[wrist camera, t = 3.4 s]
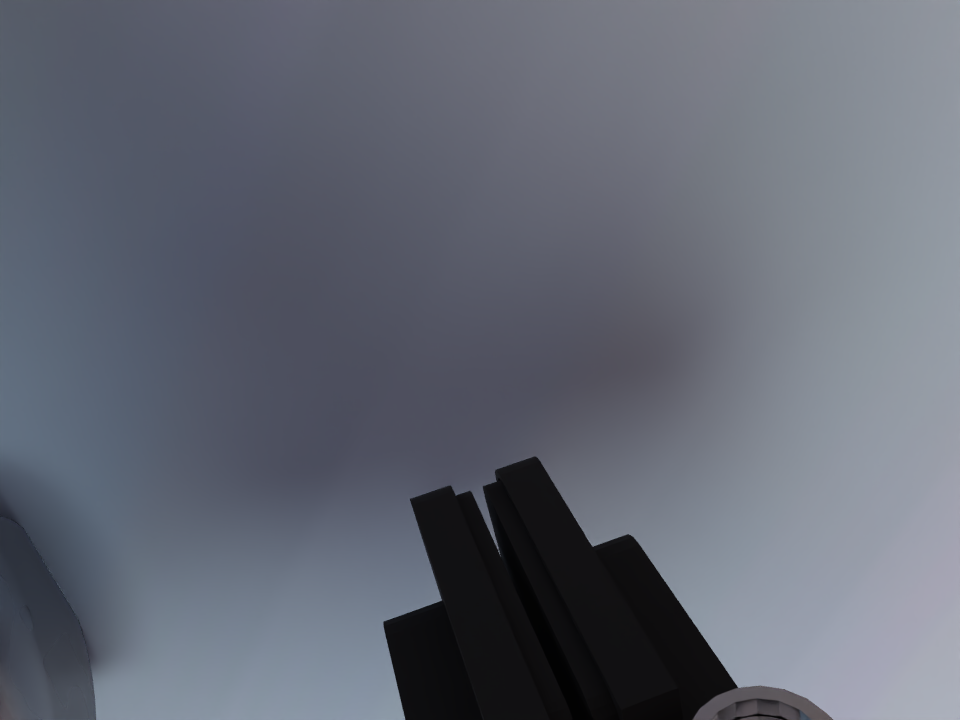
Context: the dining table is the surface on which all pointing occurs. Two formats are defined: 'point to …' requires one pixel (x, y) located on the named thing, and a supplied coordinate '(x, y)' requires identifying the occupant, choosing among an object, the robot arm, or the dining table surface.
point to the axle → (38, 639)
